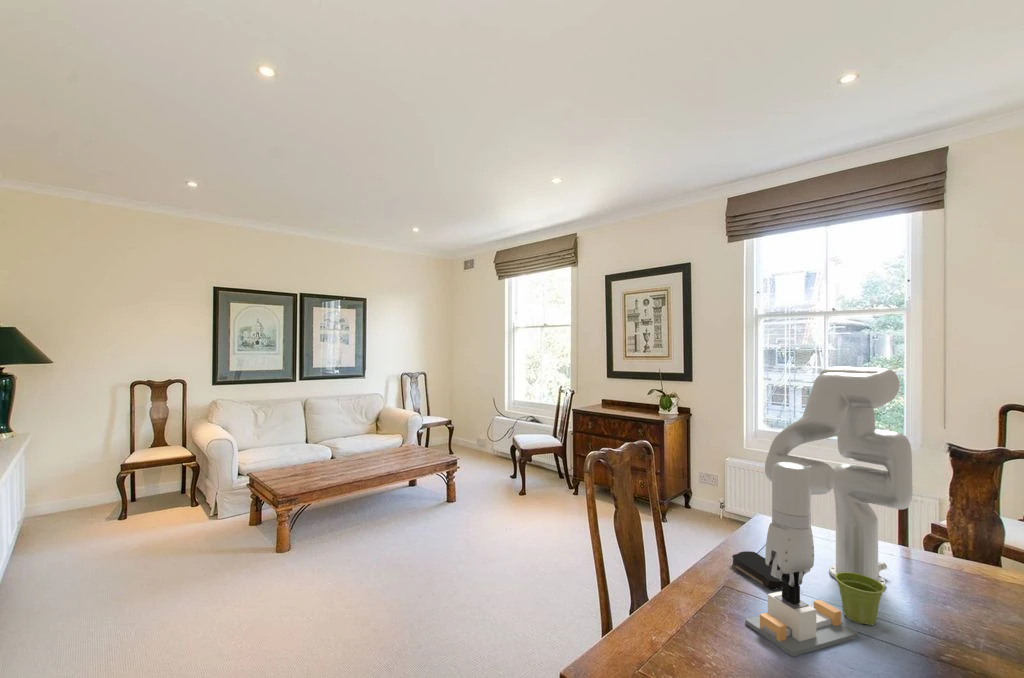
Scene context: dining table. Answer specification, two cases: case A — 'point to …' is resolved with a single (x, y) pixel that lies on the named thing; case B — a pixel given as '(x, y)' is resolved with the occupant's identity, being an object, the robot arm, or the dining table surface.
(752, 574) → the black sponge
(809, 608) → the block
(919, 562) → the dining table surface
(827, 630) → the rail board
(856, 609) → the plant pot
